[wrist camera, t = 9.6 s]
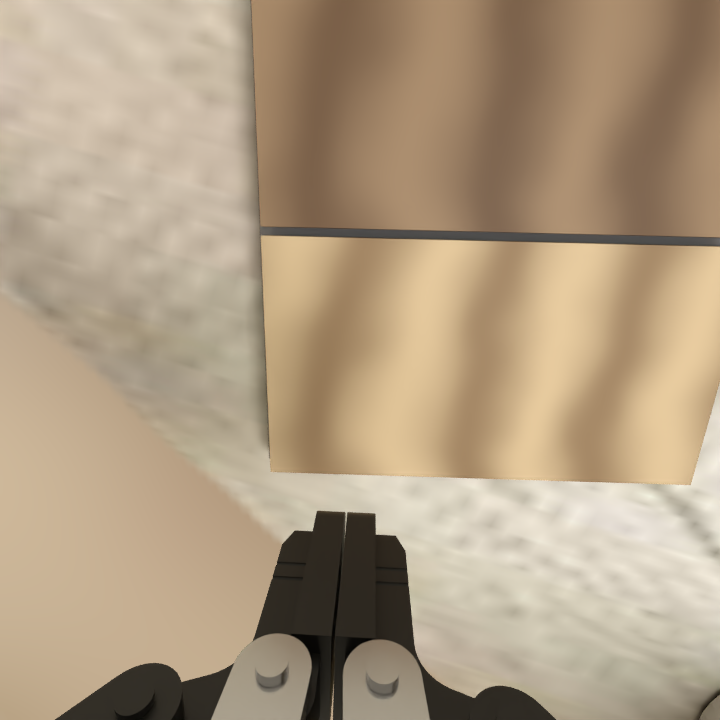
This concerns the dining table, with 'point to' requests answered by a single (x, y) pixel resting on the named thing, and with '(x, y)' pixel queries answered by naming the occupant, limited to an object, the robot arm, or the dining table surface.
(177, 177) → the dining table surface
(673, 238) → the underlay mat
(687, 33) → the walnut plank
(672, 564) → the dining table surface
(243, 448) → the dining table surface
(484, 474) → the oak plank
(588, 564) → the dining table surface
